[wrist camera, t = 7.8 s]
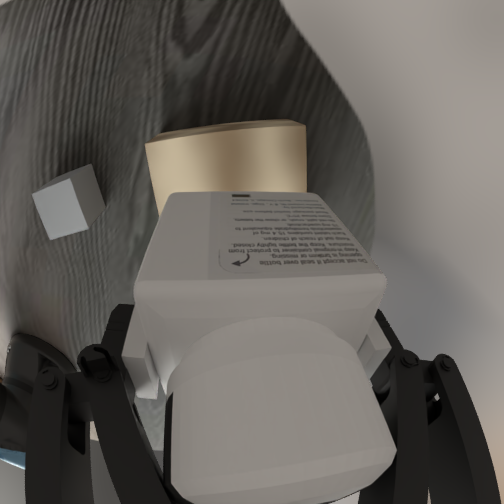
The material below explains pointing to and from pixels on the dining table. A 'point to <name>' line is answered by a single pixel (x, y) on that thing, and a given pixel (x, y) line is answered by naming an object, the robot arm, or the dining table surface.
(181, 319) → the container
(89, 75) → the dining table surface
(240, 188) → the maple block
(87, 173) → the slate cube
